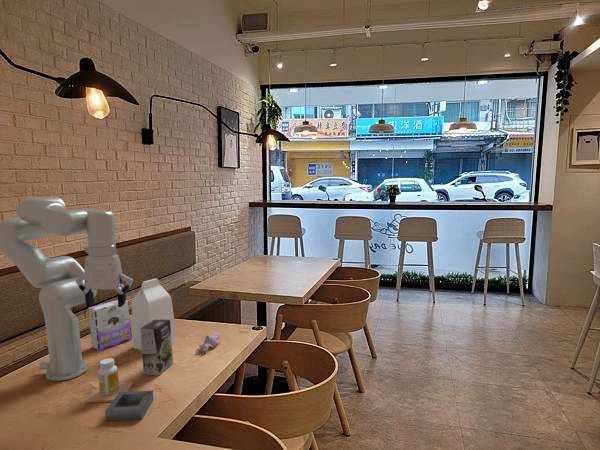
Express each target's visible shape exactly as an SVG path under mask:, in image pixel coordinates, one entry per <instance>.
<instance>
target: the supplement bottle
mask: <svg viewBox="0 0 600 450" xmlns="http://www.w3.org/2000/svg"><path fill="white" fill-rule="evenodd" d="M97 377H98V387H99V389H100V394H101V395H111V394H113V393H116V392H117V391H118V390H119V383H120V382H119V373H118V367H117V366H116V365H115V359H114V358H112V357H110V358H105V359H101V360H100V361H99V369H98V370H97Z"/></svg>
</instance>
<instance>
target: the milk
mask: <svg viewBox="0 0 600 450" xmlns="http://www.w3.org/2000/svg"><path fill="white" fill-rule="evenodd" d="M132 298H133V299H132V300H131V333H132V349H136V350H140V351H142V345H141V331H140V328H142V327H143V326H145V325H147V324H148V323H150V322H151V321H153V320H170V324H171V339H172V345H174V344H177V343H178V338H177V328H176V323H175V322H176V321H175V316H174V315H175V314H174V307H173V301H172V297H171V295H170V294H169V292H167V290H166V289H165V288H164V287H163V286H162V285H161V283H160V280H159V278H156V277H155V278H152V279H148V280H146V281H145V280H144V281H142V283H141V288H140V290H139V291H138V292H137V294H135V296H134V297H132Z"/></svg>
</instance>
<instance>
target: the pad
mask: <svg viewBox="0 0 600 450" xmlns="http://www.w3.org/2000/svg"><path fill="white" fill-rule="evenodd" d="M133 385H134V382H133V381H132V382H131V381H130V382H119V390H118V391H117V392H116V393H113V394H111V395H101V394H100V389H99V386H98V387H97V388H96V389H95V390H94V391H93V392H92V393H91V395H89V396H88V398H87V399H86V400H85V403H86V404H89V403H91V404H92V403H108V402H109V403H112V401H113V400H114V399H115V398H116V396H117V395H118V394H119V393H120V392H129V390H131V388H132V386H133Z"/></svg>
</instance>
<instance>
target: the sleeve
mask: <svg viewBox="0 0 600 450" xmlns="http://www.w3.org/2000/svg"><path fill="white" fill-rule="evenodd" d="M153 402H154V390H139V391H138V390H136V391H128V392H120V393H119V394H118V395H117V396H116V398H115V399H114V400H113V401H112V402H110V404H109V405H108V407H106V409H105V410H104V411H105V421H106V422H113V421H116V422H117V421H137V420H143V419H144V417H145V415H146V414H147V411H149V409H150V407H151V406H152V404H153ZM124 405H135V406H124Z"/></svg>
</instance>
